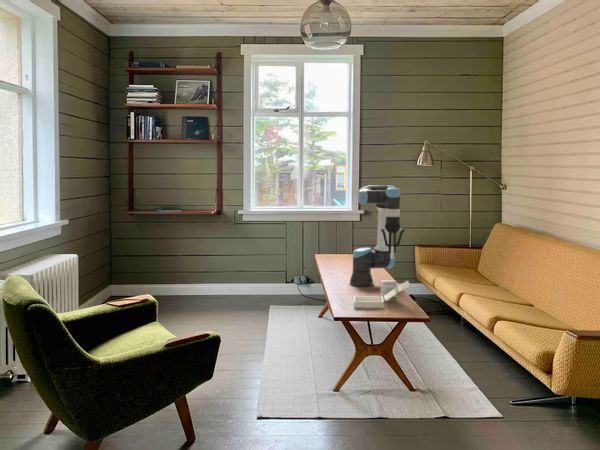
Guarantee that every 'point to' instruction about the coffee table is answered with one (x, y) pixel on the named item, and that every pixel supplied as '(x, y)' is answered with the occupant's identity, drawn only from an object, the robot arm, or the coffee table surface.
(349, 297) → the coffee table surface
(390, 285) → the ink box
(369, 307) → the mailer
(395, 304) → the coffee table surface
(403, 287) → the lid
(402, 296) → the coffee table surface
